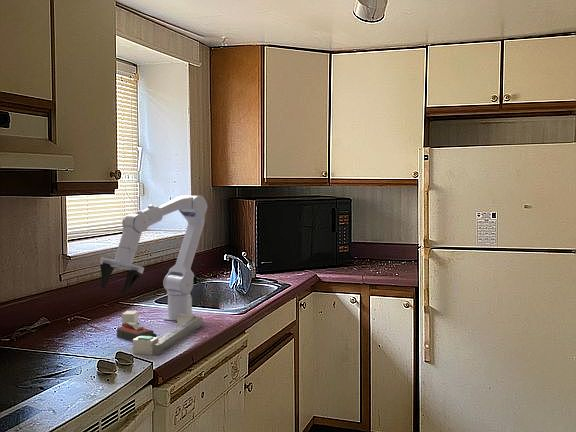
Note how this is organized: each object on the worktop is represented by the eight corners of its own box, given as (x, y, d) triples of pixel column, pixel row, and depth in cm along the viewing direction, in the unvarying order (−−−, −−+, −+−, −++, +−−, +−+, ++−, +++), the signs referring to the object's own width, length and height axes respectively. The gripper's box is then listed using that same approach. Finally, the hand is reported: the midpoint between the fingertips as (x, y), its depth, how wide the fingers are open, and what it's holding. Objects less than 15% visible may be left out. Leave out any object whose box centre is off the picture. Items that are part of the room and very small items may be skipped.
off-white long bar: (179, 324, 208) (179, 311, 208) (201, 325, 207) (201, 312, 206) (132, 353, 174) (132, 338, 174) (159, 355, 173) (158, 340, 172)
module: (126, 322, 211) (126, 310, 211) (138, 322, 211) (138, 310, 210) (122, 325, 206) (122, 314, 206) (133, 326, 206) (133, 314, 206)
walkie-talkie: (162, 338, 191) (125, 327, 204) (162, 324, 191) (125, 314, 204) (139, 344, 185) (102, 333, 198) (139, 330, 184) (102, 319, 197)
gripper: (101, 242, 195) (87, 283, 192) (142, 251, 192) (129, 293, 189) (110, 247, 202) (98, 286, 199) (150, 256, 199) (138, 296, 196)
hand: (113, 290), depth 194 cm, fingers open, 7 cm apart
